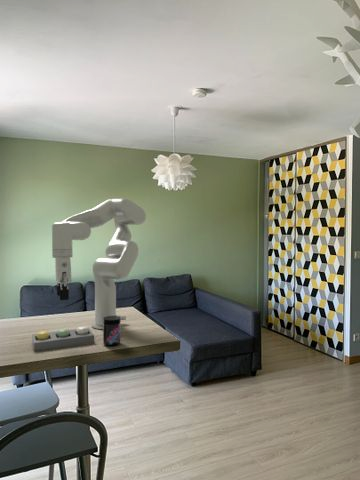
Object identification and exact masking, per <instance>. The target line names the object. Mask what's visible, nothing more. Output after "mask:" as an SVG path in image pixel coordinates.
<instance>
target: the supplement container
mask: <svg viewBox="0 0 360 480" xmlns="http://www.w3.org/2000/svg"><path fill="white" fill-rule="evenodd" d="M119 316H120V315H117V316H106V317H104V318H103V329H102V330H103V331H102V332H103V334H102V335H103V336H102V340H103V341H102V342H103V345H104V346H105V347H112V348H114V347H117V346H119V345H120V344H121V321H122V320H121V317H119Z"/></svg>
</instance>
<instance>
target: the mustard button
mask: <svg viewBox="0 0 360 480" xmlns="http://www.w3.org/2000/svg"><path fill="white" fill-rule="evenodd" d="M36 334H37V340H43V339H49V331H48V330H42V331H39V332H37V333H36Z"/></svg>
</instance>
